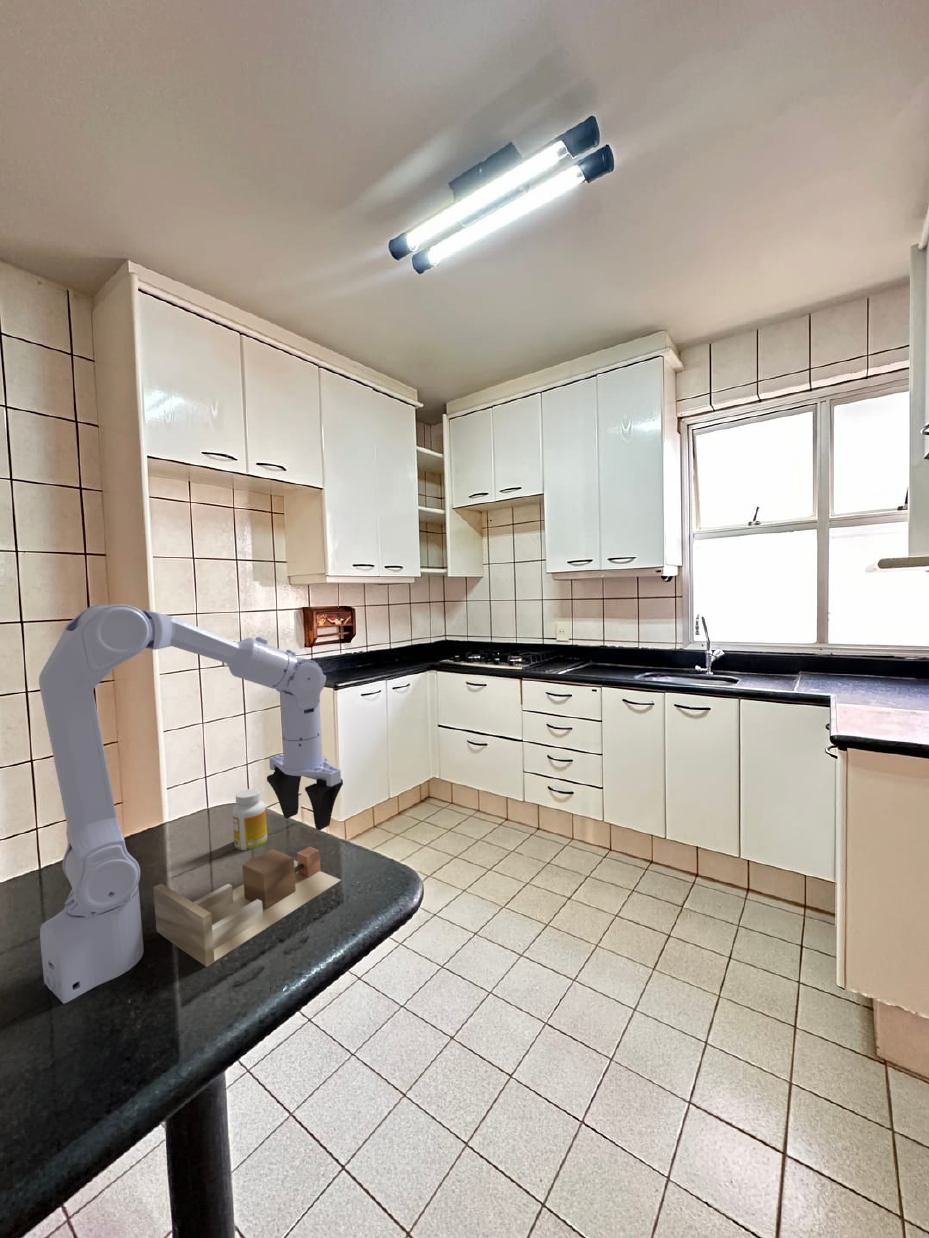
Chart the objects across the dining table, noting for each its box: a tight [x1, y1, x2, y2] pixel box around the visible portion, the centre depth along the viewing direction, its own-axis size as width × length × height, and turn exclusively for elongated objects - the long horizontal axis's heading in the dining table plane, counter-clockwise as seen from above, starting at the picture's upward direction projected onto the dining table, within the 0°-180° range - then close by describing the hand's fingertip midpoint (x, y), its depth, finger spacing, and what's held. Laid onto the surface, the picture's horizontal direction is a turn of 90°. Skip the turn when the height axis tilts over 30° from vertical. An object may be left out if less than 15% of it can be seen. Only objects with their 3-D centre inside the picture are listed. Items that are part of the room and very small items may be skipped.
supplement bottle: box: [232, 788, 268, 851], centre depth 92 cm, size 5×5×10 cm
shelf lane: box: [152, 859, 342, 967], centre depth 74 cm, size 21×12×7 cm, turn 146°
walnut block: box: [241, 846, 321, 909], centre depth 78 cm, size 11×5×5 cm, turn 146°
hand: (306, 821), depth 81 cm, fingers open, 7 cm apart
